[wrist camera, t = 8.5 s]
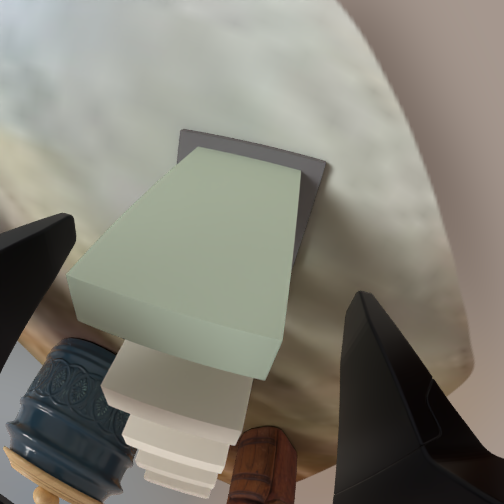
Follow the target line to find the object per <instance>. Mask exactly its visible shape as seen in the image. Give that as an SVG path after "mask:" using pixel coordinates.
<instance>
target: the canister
mask: <svg viewBox="0 0 504 504" xmlns="http://www.w3.org/2000/svg"><path fill="white" fill-rule="evenodd" d="M115 357H116V355H115V354H113V353H111V352H110V351H108V350H106V349H104V348H102V347H100V346H98V345H95V344H93V343H91V342H88V341H85V340H81V339H76V338H66V339H63V340H61V341H60V342H59V343H58V344H57V345H56V346H55V347H53V348H52V349H51V352H50V353H49V354H48V355H47V358H46V362H45V363H44V365H43V366H42V368H41V369H40V371H39V373H38V374H37V376H36V377H35V379H34V381H33V382H32V384H31V385H30V387H29V389H28V390H27V392H26V394H25V395H24V396H23V397H21V399H20V404H21V408H20V410H19V412H18V415H17V417H16V419H15V420H14V421H11V422H7V423H6V428H7V430H8V432H9V434H10V437H11V443H10V449H9V448H7V447H6V446H4V447H3V449H4V451H5V453H6V454H7V456H8V458H9V460H10V462H11V466H12V467H13V468H14V469H15V470H16V471H18V472H19V473H21V474H22V475H24V476H25V477H27V478H28V479H30V480H31V481H33V482H34V483H36V484H37V485H39V486H38V487H37V488H36V489H35V490H34V493H33V499H34V501H35V503H36V504H59V497H60V498H62V499H63V500H65V501H67V502H69V503H71V504H103V502H104V501H105V500H106V499H107V498H108V497H109V496H111V495H119V494H122V493H123V489H122V487H121V484H120V482H121V480H122V477H123V475H124V473H125V471H126V470H127V468H131V467H132V466H133V459H134V456H135V454H136V451H137V448H135V447H132V446H129V445H127V444H126V442H125V440H124V438H123V436H122V433H123V430H124V428H125V425H126V423H127V421H128V418H129V416H130V414H129V413H127V412H124V411H122V410H119V409H117V408H114V407H112V406H109V405H108V403H107V400H106V398H105V396H104V393H103V391H102V388H101V386H100V385H101V384H102V382H103V380H104V378H105V376H106V374H107V372H108V370H109V368H110V367H111V365H112V363H113V361H114V359H115Z"/></svg>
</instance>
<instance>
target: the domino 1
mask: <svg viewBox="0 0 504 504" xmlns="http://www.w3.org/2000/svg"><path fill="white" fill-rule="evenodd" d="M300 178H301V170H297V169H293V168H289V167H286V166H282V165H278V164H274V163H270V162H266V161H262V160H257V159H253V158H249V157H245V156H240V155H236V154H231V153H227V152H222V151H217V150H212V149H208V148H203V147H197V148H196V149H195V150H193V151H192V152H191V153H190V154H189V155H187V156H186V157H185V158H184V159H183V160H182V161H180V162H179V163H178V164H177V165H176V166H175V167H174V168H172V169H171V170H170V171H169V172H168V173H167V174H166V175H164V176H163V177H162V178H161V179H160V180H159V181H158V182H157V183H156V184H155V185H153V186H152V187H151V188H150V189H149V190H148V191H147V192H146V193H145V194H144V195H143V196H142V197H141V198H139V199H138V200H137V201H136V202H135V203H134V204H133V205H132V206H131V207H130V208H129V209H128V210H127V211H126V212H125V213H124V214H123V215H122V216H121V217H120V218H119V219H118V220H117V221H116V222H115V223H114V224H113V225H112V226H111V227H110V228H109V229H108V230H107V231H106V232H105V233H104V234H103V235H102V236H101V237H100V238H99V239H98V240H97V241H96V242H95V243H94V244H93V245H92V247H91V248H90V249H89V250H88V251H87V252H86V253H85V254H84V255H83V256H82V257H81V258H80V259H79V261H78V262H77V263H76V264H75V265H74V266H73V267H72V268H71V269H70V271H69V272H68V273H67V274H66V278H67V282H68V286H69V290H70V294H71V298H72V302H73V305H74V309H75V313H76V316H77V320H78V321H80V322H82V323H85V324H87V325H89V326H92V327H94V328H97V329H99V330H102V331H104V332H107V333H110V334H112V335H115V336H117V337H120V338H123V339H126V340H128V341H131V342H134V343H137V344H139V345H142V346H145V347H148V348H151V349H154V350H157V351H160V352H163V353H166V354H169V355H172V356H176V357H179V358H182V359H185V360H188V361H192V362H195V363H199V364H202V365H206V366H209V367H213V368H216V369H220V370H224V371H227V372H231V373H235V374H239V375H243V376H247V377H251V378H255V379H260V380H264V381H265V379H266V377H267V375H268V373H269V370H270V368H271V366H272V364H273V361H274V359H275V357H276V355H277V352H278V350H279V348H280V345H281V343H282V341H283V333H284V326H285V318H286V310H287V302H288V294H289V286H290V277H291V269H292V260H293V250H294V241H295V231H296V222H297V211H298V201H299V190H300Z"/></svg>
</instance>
